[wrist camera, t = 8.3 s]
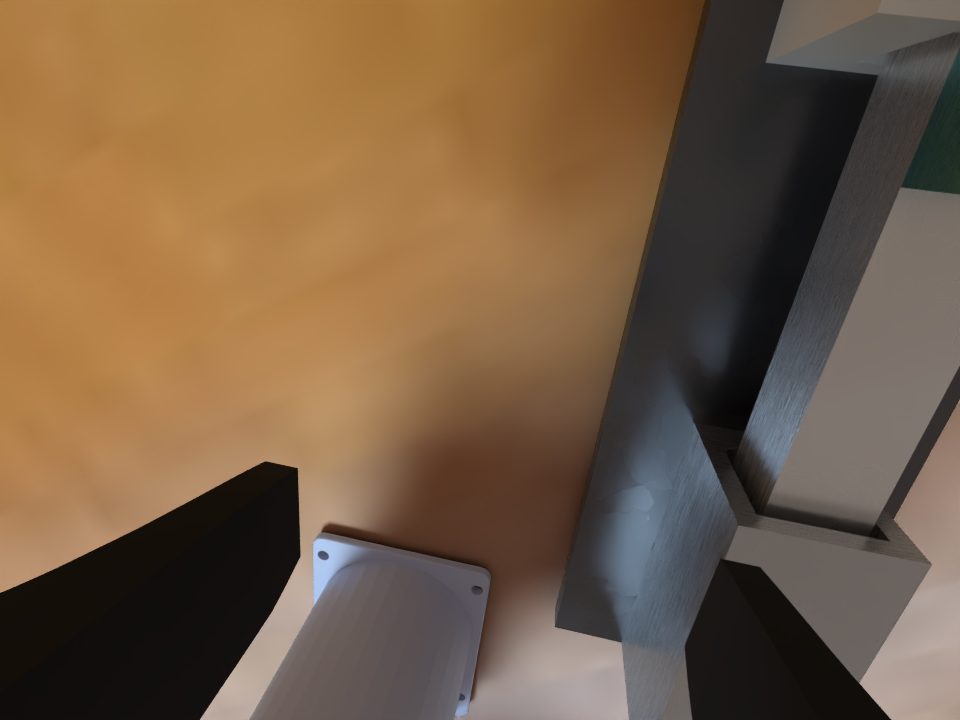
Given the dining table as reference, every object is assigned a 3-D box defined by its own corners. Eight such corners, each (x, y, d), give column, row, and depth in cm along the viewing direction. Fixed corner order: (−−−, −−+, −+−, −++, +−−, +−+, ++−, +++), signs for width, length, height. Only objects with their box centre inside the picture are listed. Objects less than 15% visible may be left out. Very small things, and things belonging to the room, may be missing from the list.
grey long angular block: (793, 661, 22) (869, 842, 16) (555, 607, 23) (549, 759, 17) (1190, -94, 12) (1758, -318, 6) (736, -128, 13) (864, -345, 7)
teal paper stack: (797, 533, 16) (961, 815, 9) (713, 515, 17) (812, 777, 10) (1080, -78, 10) (2132, -544, 3) (939, -88, 11) (1639, -539, 4)
